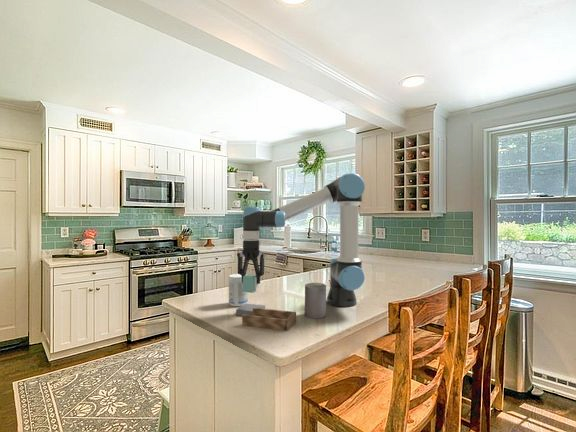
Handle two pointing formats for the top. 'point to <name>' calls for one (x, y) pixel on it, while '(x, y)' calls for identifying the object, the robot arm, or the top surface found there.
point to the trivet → (248, 309)
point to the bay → (270, 319)
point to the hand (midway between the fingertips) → (250, 290)
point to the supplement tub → (237, 291)
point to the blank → (249, 283)
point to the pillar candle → (315, 300)
